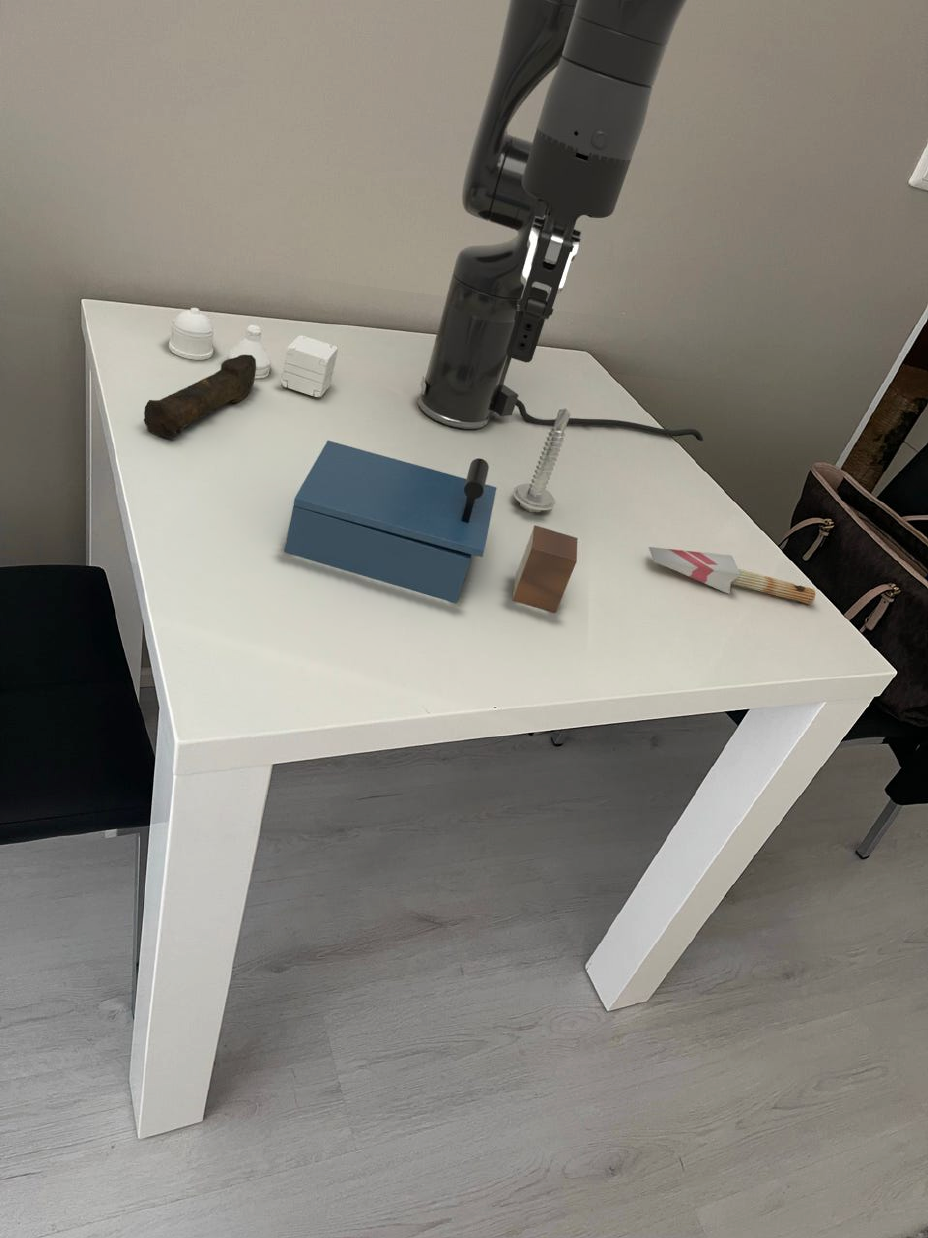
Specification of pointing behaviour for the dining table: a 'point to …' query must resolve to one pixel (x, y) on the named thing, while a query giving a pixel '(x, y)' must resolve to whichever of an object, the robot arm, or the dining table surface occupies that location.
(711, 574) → the knife with wooden handle
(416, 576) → the toolbox
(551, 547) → the brown block
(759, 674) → the dining table surface
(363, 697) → the dining table surface
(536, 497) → the screw
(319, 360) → the container set
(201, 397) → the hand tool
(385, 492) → the toolbox lid
